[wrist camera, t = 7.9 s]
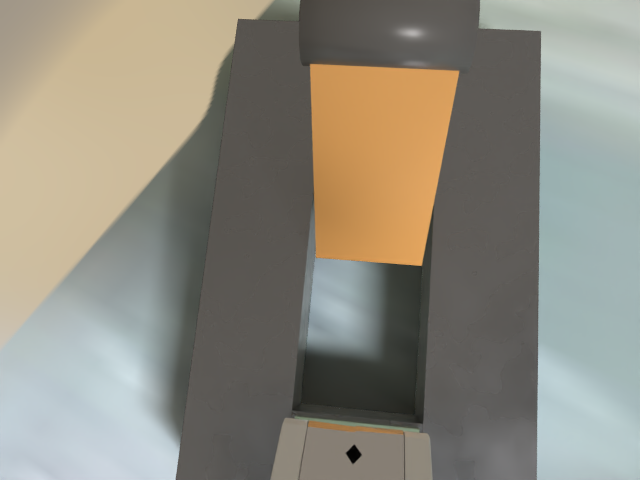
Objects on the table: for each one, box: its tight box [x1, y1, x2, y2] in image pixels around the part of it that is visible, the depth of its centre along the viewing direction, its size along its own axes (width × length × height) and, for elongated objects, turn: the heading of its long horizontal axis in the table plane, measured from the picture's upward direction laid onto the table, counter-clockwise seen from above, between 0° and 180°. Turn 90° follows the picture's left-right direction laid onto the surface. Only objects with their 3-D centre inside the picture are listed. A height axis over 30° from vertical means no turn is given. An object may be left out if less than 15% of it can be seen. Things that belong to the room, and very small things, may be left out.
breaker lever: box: [299, 0, 480, 266], centre depth 22 cm, size 3×6×12 cm
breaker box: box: [176, 19, 541, 480], centre depth 28 cm, size 24×16×4 cm, turn 175°
